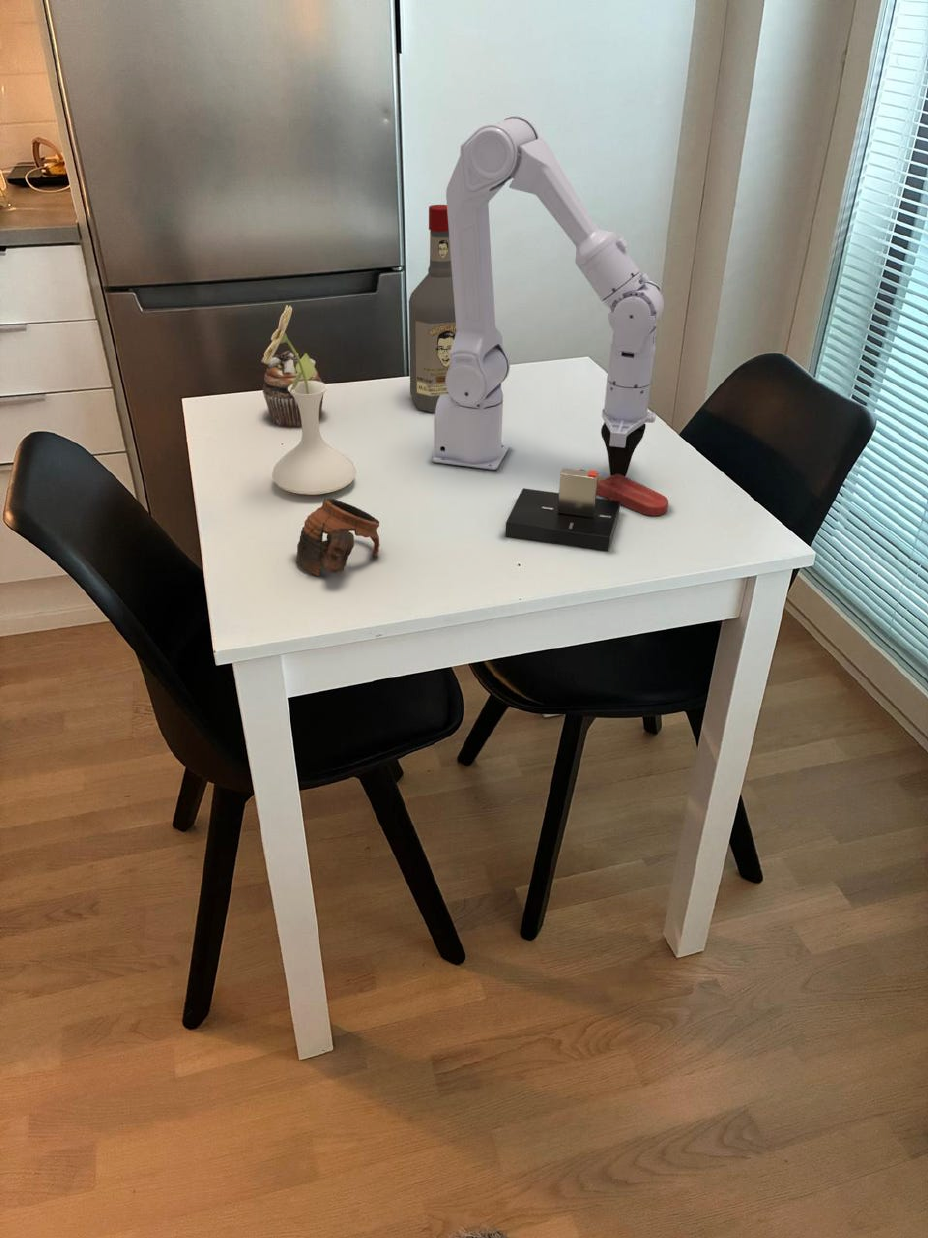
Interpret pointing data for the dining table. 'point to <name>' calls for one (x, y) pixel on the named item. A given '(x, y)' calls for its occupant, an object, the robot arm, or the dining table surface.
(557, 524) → the knob box
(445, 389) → the liquor
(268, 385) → the cupcake
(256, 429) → the dining table surface
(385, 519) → the dining table surface
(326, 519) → the pottery mug
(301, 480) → the flower in vase
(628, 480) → the popsicle
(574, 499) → the knob
